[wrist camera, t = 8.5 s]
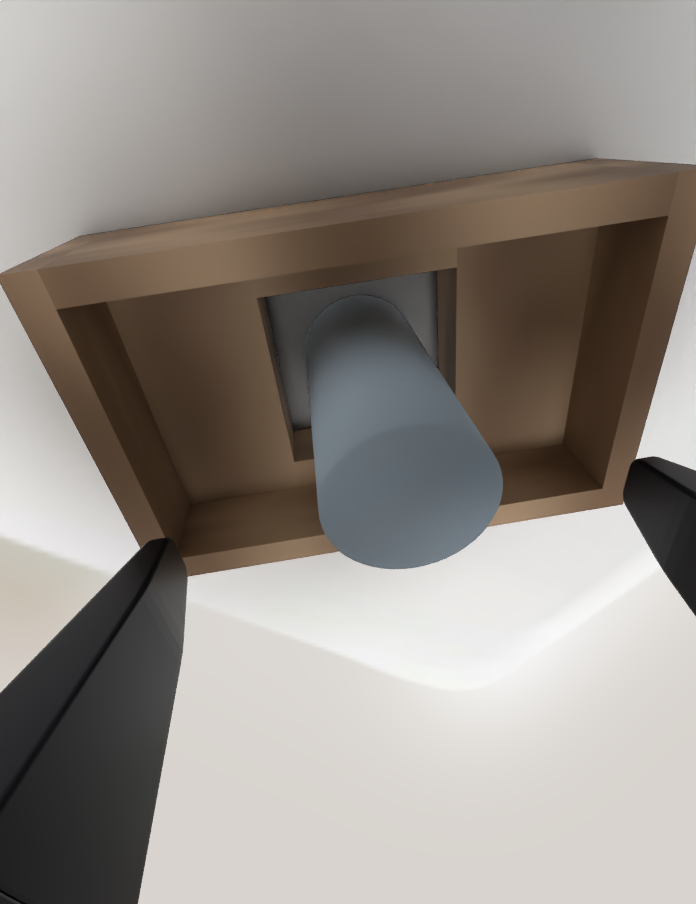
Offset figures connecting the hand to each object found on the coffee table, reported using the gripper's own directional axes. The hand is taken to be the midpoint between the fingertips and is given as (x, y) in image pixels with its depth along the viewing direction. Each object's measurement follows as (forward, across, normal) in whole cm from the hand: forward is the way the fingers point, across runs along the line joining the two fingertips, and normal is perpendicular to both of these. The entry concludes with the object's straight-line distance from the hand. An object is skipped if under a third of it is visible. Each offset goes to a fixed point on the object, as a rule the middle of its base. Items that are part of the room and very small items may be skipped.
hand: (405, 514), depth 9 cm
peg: (+8, 0, 0) cm, 8 cm away
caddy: (+8, 0, 0) cm, 8 cm away
